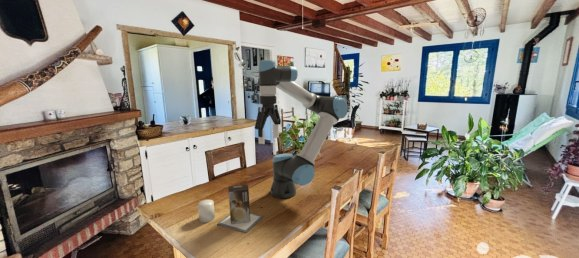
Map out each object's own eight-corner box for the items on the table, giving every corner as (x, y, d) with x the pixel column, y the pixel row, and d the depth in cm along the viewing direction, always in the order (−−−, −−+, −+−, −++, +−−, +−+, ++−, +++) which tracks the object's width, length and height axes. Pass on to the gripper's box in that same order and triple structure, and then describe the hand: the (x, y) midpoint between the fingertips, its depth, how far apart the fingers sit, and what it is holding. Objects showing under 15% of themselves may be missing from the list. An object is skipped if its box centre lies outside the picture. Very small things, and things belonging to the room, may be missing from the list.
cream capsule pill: (206, 213, 123) (205, 198, 121) (217, 216, 120) (216, 201, 118) (196, 220, 117) (194, 204, 115) (207, 223, 114) (206, 208, 112)
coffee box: (249, 214, 120) (248, 183, 117) (250, 222, 114) (249, 189, 111) (230, 217, 118) (228, 185, 115) (230, 224, 112) (228, 191, 109)
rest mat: (236, 210, 126) (236, 209, 125) (263, 217, 119) (263, 216, 119) (217, 224, 113) (217, 223, 113) (246, 233, 106) (246, 231, 106)
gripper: (273, 93, 125) (274, 134, 129) (245, 96, 103) (247, 145, 107) (287, 94, 122) (287, 135, 126) (260, 97, 100) (262, 147, 104)
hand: (269, 140), depth 117 cm, fingers open, 13 cm apart
